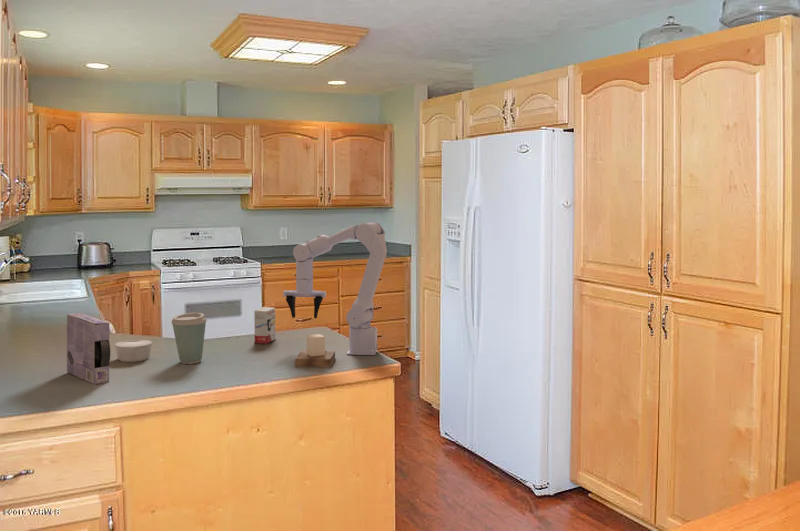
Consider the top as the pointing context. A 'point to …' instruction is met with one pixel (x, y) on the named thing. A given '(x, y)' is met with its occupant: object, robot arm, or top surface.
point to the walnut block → (314, 359)
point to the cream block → (316, 345)
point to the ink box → (264, 325)
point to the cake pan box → (88, 348)
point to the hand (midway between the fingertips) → (304, 317)
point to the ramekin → (133, 350)
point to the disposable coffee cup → (189, 336)
